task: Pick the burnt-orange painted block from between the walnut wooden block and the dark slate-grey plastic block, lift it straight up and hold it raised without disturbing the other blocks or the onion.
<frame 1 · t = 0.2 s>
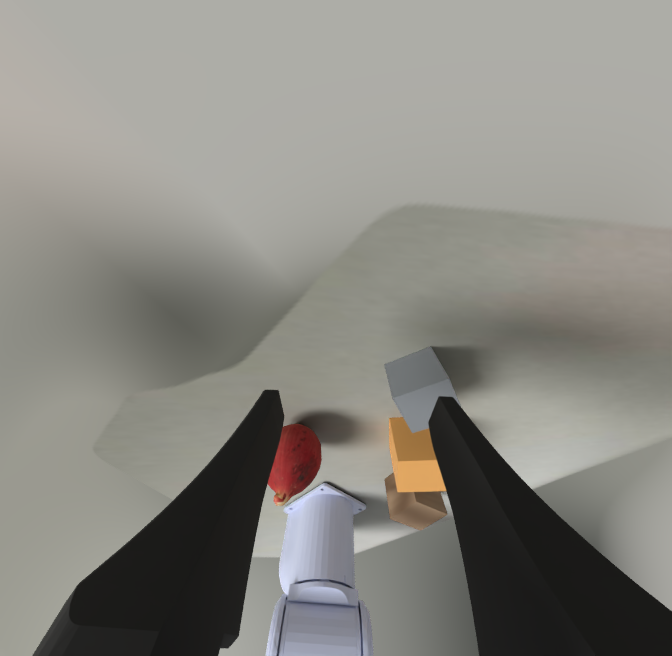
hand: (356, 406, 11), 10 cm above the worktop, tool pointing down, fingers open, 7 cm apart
onion: (299, 423, 27), on the worktop
walnut block: (409, 476, 31), on the worktop
slate block: (415, 372, 23), on the worktop
orange block: (411, 431, 27), on the worktop
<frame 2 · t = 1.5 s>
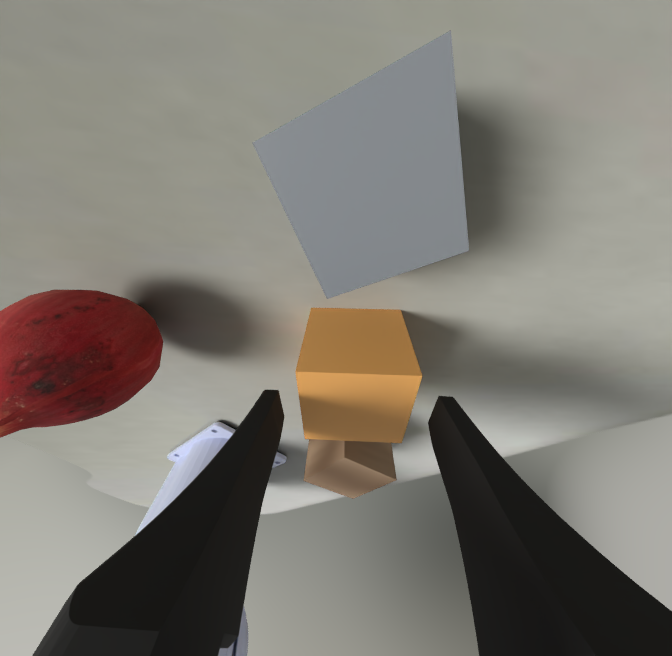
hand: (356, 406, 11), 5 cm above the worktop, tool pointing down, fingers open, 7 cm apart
onion: (142, 308, 14), on the worktop
walnut block: (349, 420, 20), on the worktop
slate block: (363, 184, 10), on the worktop
orange block: (353, 342, 15), on the worktop
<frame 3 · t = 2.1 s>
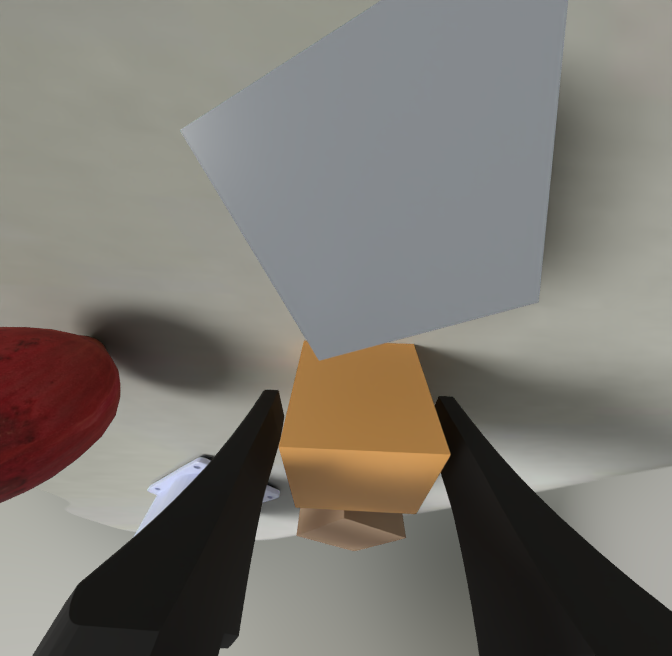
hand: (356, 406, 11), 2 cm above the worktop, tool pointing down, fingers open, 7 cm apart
onion: (100, 339, 12), on the worktop
walnut block: (349, 457, 17), on the worktop
slate block: (369, 192, 7), on the worktop
orange block: (355, 378, 12), on the worktop
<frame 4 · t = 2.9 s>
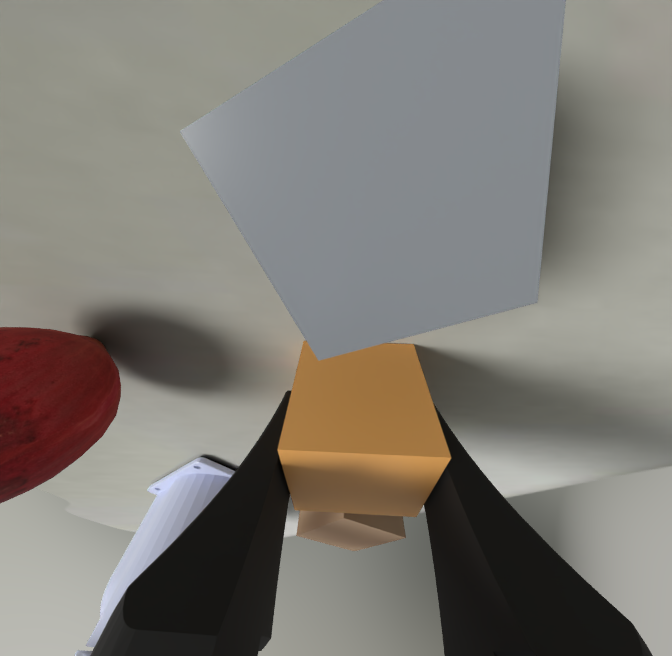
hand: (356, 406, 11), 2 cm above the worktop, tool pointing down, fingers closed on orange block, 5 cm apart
onion: (100, 339, 12), on the worktop
walnut block: (349, 457, 18), on the worktop
slate block: (369, 192, 7), on the worktop
orange block: (355, 379, 12), on the worktop, touching gripper
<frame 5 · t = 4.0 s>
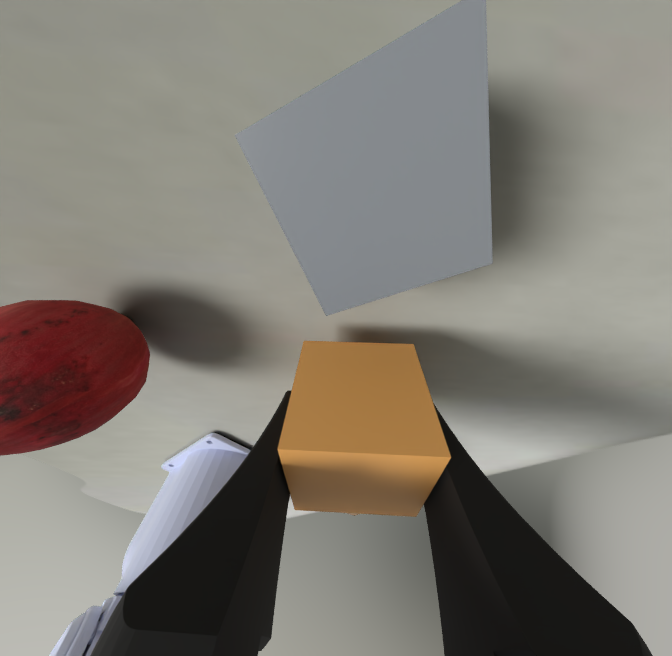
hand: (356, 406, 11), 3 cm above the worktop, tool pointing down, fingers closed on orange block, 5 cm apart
onion: (129, 317, 13), on the worktop
slate block: (367, 184, 9), on the worktop
orange block: (355, 379, 12), point 2 cm above the worktop, touching gripper
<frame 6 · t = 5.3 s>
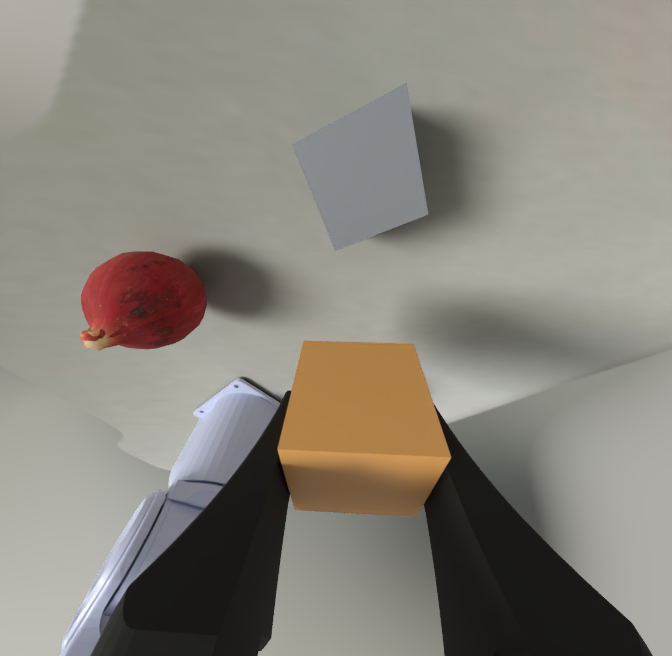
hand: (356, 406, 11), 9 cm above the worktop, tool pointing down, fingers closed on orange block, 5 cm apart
onion: (187, 274, 18), on the worktop
slate block: (360, 173, 14), on the worktop
orange block: (355, 379, 12), point 8 cm above the worktop, touching gripper
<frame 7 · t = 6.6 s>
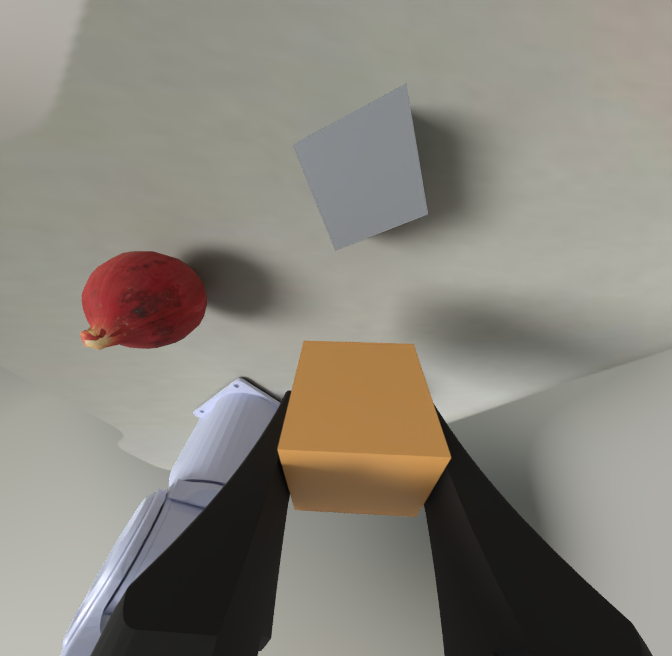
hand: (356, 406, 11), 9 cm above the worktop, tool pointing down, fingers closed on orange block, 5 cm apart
onion: (187, 274, 18), on the worktop
slate block: (360, 174, 14), on the worktop
orange block: (355, 379, 12), point 8 cm above the worktop, touching gripper
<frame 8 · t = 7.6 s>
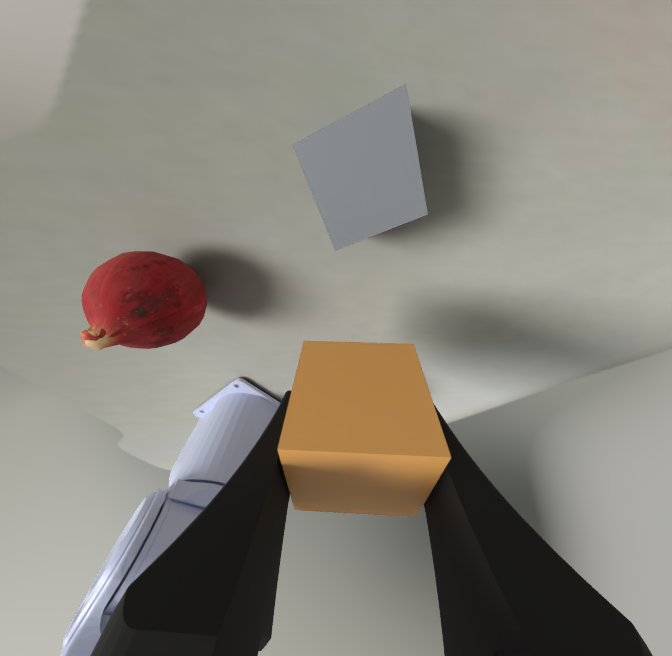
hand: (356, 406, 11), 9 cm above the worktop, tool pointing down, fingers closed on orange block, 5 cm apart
onion: (187, 274, 18), on the worktop
slate block: (360, 174, 14), on the worktop
orange block: (355, 379, 12), point 8 cm above the worktop, touching gripper
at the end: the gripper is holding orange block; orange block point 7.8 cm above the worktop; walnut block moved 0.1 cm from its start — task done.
